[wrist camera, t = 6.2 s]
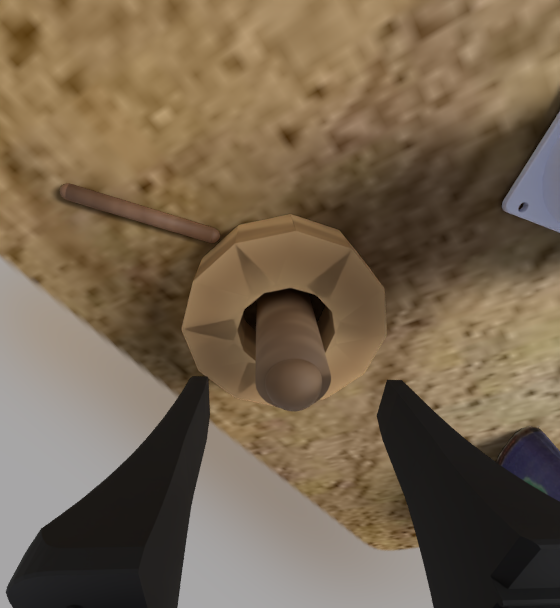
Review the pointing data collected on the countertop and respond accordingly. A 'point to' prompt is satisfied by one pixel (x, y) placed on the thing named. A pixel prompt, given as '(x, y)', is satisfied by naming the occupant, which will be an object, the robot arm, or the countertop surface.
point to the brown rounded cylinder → (289, 351)
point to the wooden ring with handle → (266, 278)
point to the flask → (533, 460)
